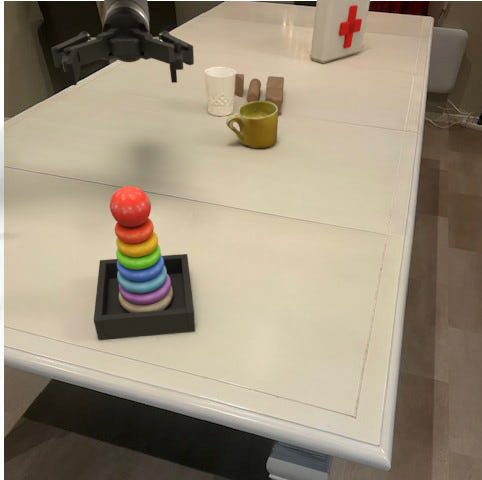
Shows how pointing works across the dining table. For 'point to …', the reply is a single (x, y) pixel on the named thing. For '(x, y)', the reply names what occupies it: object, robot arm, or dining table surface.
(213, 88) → the white cup
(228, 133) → the dining table surface
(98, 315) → the socket pad
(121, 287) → the stacking toy
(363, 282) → the dining table surface
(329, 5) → the bevelled white case
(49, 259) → the dining table surface
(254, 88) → the wooden block set
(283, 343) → the dining table surface
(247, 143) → the mug
